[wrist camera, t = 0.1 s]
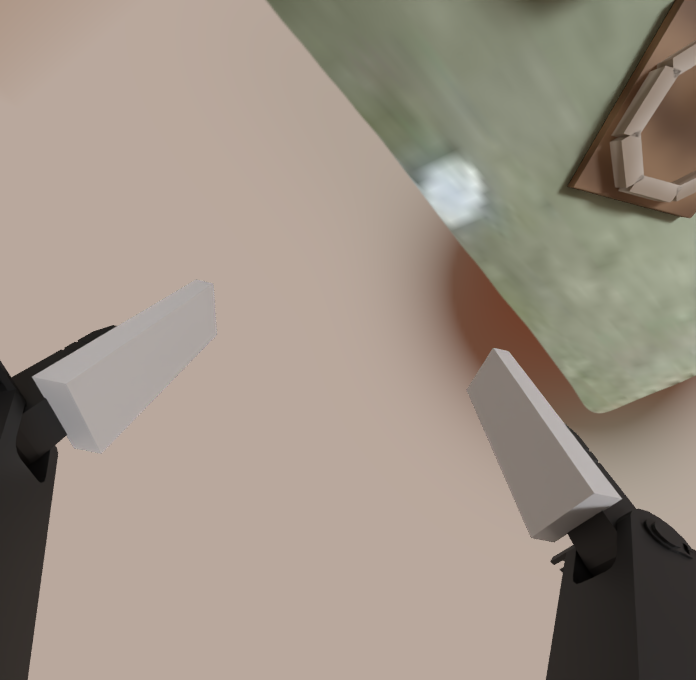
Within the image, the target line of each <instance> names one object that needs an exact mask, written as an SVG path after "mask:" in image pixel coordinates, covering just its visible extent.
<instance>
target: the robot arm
mask: <svg viewBox="0 0 696 680" xmlns="http://www.w3.org/2000/svg"><path fill="white" fill-rule="evenodd" d="M216 335H217V329H216V313H215V299H214V285H213V283H209V282H205V281H201V280H194V281H193V282H191V283H189V284H188V285H186V286H184V287H183V288H181V289H179V290H177V291H176V292H174V293H172V294H171V295H169V296H167V297H166V298H164V299H162V300H161V301H159V302H157V303H156V304H154V305H152V306H150V307H149V308H147V309H146V310H144V311H142V312H140V313H139V314H137V315H135V316H134V317H132V318H130V319H129V320H127V321H125V322H123V323H122V324H120V325H119V326H114V325H112V326H109V327H106V328H103V329H100V330H96V331H93V332H92V333H90V334H88V335H86V336H85V337H83V338H81V339H79V340H78V342H74V343H72V344H70V345H69V346H67V347H65V349H64V350H60V351H58V352H56V353H54V354H53V355H51V356H49V357H47V358H46V359H44V360H42V361H40V362H38V363H36V364H35V365H33V366H31V367H29V368H28V369H26V370H24V371H22V372H20V373H19V374H17V375H15V376H13V377H11V376H10V375H9V373H8V372H7V370H6V369H5V367H4V366H3V364H2V363H1V361H0V680H28V672H29V665H30V657H31V650H32V643H33V635H34V627H35V620H36V613H37V606H38V598H39V591H40V583H41V576H42V569H43V561H44V554H45V546H46V539H47V532H48V524H49V517H50V509H51V501H52V495H53V487H54V480H55V473H56V465H57V458H58V452H57V447H56V446H55V445H56V444H57V443H58V442H59V441H60V440H62V439H63V438H64V437H65V436H66V435H67V437H68V439H69V441H70V442H71V444H72V446H73V447H74V448H75V449H81V450H86V451H91V452H96V453H102V452H103V451H104V450H105V449H106V448H107V447H108V446H109V445H110V444H111V443H112V442H113V441H114V440H115V439H116V438H117V437H118V436H119V435H120V434H121V433H122V432H123V431H124V430H125V429H126V428H127V426H129V425H130V424H131V422H133V420H134V419H135V418H136V417H137V416H138V415H139V414H140V413H141V412H142V411H143V410H144V409H145V408H146V407H147V406H148V405H149V404H150V403H151V402H152V401H153V400H154V399H155V398H156V397H157V396H158V395H159V394H160V393H161V392H162V391H163V389H164V388H166V387H167V386H168V385H169V384H170V382H171V381H172V380H173V379H174V378H175V377H176V376H177V375H178V374H179V373H180V372H181V371H182V370H183V369H184V368H185V367H186V366H187V365H188V364H189V363H190V362H191V361H192V360H193V359H194V358H195V357H196V356H197V355H198V354H199V353H200V352H201V351H202V350H203V349H204V348H205V346H206V345H207V344H208V343H209V342H210V341H211V340H212V339H213V338H214V337H215V336H216ZM467 392H468V394H469V397H470V399H471V401H472V404H473V406H474V408H475V410H476V413H477V415H478V417H479V420H480V422H481V424H482V427H483V429H484V431H485V433H486V436H487V438H488V440H489V442H490V445H491V447H492V450H493V452H494V454H495V456H496V459H497V461H498V463H499V465H500V468H501V470H502V472H503V475H504V477H505V479H506V482H507V484H508V486H509V488H510V491H511V493H512V495H513V497H514V500H515V502H516V504H517V507H518V509H519V511H520V514H521V516H522V518H523V521H524V523H525V525H526V528H527V530H528V532H529V534H530V537H531V538H534V539H540V540H545V541H550V542H555V541H557V540H559V539H560V538H561V537H563V536H565V535H566V534H568V535H569V537H570V539H571V541H572V543H573V544H574V545H572V546H571V547H569V548H568V549H566V550H564V551H562V552H561V553H559V554H557V555H556V556H554V557H553V558H552V560H551V563H552V564H554V565H555V564H557V563H559V562H560V561H565V563H564V567H563V568H561V569H560V570H561V571H562V572H563V576H562V583H561V589H560V595H559V601H558V608H557V614H556V621H555V626H554V633H553V639H552V645H551V652H550V658H549V664H548V670H547V676H546V680H696V551H695V550H693V549H691V547H690V546H689V545H688V543H687V542H686V541H685V540H684V538H682V537H681V536H680V535H679V534H678V533H677V532H676V531H675V530H674V529H673V528H672V527H671V526H669V525H668V524H667V523H666V522H664V521H663V520H661V519H660V518H659V517H657V516H655V515H653V514H652V513H650V512H648V511H644V510H641V509H636V508H635V507H634V505H633V504H632V503H631V502H630V500H629V499H628V498H627V497H626V495H624V493H623V491H622V490H621V489H620V488H619V486H618V485H617V484H616V483H615V481H614V480H613V479H612V477H611V476H610V475H609V474H608V472H607V471H606V470H605V469H604V467H603V466H602V465H601V464H600V463H598V460H597V458H596V457H595V456H594V455H593V453H592V452H589V448H588V447H587V446H586V445H585V443H584V442H583V441H582V439H581V438H580V437H579V436H578V435H577V434H576V433H575V432H574V431H573V430H572V429H570V428H569V427H568V426H567V425H566V424H565V423H563V421H562V420H561V419H560V417H559V416H558V415H557V414H556V412H555V411H554V410H553V408H552V407H551V406H550V404H549V403H548V402H547V401H546V399H545V398H544V397H543V395H542V394H541V393H540V391H539V390H538V389H537V388H536V386H535V385H534V384H533V383H532V381H531V380H530V379H529V377H528V376H527V375H526V374H525V372H524V371H523V369H522V368H521V367H520V366H519V364H518V363H517V362H516V360H515V359H514V358H513V356H512V355H511V354H510V352H509V351H505V350H500V349H496V348H493V349H492V351H491V352H490V354H489V355H488V357H487V358H486V360H485V362H484V363H483V365H482V366H481V368H480V370H479V371H478V373H477V375H476V376H475V377H474V379H473V381H472V382H471V384H470V385H469V387H468V388H467Z"/></svg>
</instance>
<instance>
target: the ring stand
mask: <svg viewBox="0 0 696 680" xmlns="http://www.w3.org/2000/svg"><path fill="white" fill-rule="evenodd" d="M567 187H571V188H574V189H578V190H582V191H586V192H589V193H593V194H597V195H601V196H604V197H608V198H612V199H616V200H620V201H623V202H627V203H631V204H635V205H638V206H642V207H646V208H650V209H653V210H657V211H661V212H665V213H668V214H672V215H676V216H680V217H686V218H691V217H692V216H693V215H694V214H695V212H696V0H675V2H674V4H673V5H672V7H671V9H670V10H669V12H668V14H667V16H666V17H665V19H664V21H663V23H662V24H661V26H660V28H659V29H658V31H657V33H656V35H655V36H654V38H653V40H652V42H651V43H650V45H649V47H648V48H647V50H646V52H645V54H644V55H643V57H642V59H641V60H640V62H639V64H638V66H637V67H636V69H635V71H634V73H633V74H632V76H631V78H630V79H629V81H628V83H627V85H626V86H625V88H624V90H623V91H622V93H621V95H620V97H619V98H618V100H617V102H616V104H615V105H614V107H613V109H612V110H611V112H610V114H609V116H608V117H607V119H606V121H605V122H604V124H603V126H602V128H601V129H600V131H599V133H598V135H597V136H596V138H595V140H594V141H593V143H592V145H591V147H590V148H589V150H588V152H587V153H586V155H585V157H584V159H583V160H582V162H581V164H580V166H579V167H578V169H577V171H576V172H575V174H574V176H573V178H572V179H571V181H570V183H569V184H568V186H567Z"/></svg>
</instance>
